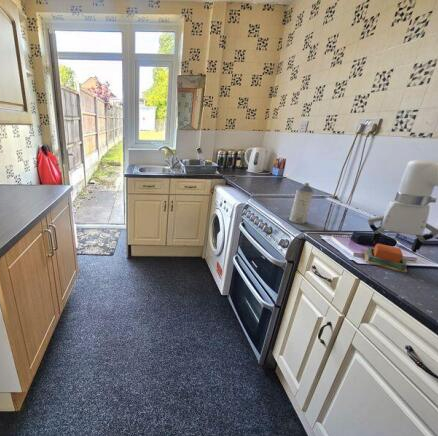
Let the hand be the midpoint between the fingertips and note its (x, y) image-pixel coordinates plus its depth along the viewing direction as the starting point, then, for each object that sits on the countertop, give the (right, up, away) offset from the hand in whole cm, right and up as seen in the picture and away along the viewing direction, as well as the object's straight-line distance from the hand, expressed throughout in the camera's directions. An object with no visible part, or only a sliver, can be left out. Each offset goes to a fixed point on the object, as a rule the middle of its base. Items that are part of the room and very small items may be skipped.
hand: (393, 246), depth 85 cm
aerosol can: (-10, +8, +38) cm, 41 cm away
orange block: (-1, -5, +3) cm, 6 cm away
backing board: (-1, -6, +3) cm, 7 cm away
